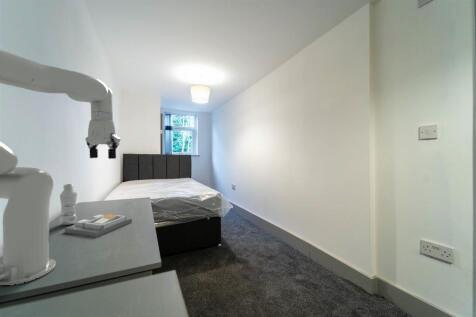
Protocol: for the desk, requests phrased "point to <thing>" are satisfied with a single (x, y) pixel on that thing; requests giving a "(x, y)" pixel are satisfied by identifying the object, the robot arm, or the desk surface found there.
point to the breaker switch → (106, 219)
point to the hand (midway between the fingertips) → (102, 158)
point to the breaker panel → (97, 226)
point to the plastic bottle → (68, 205)
